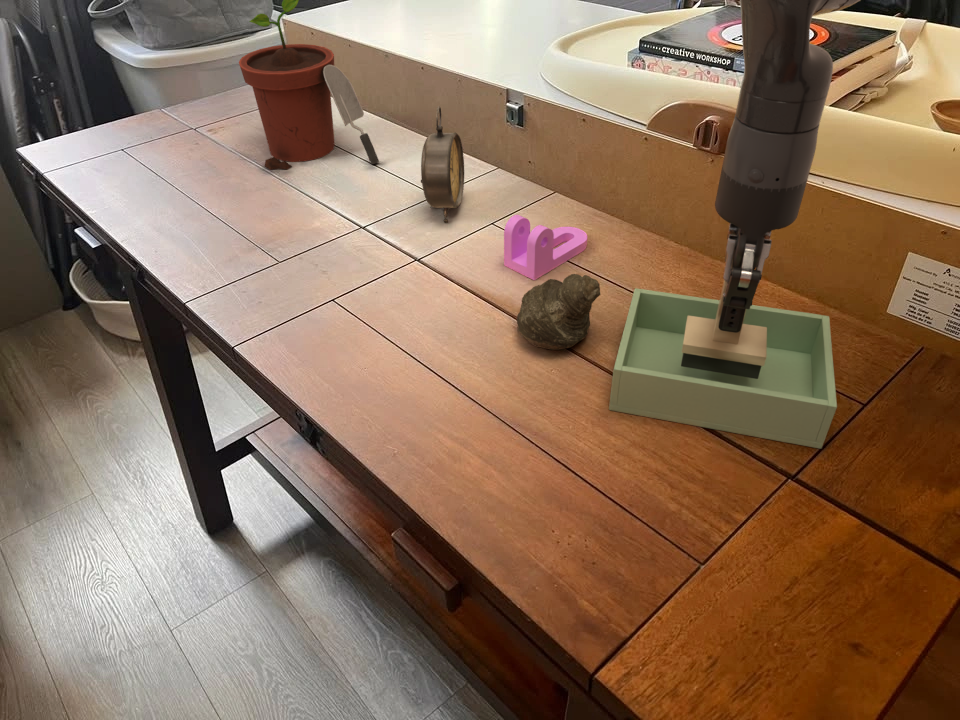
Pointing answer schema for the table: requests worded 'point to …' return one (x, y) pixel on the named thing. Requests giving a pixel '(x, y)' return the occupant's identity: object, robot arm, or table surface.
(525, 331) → the seashell
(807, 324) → the bin
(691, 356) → the base with upright post
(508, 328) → the table surface
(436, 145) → the alarm clock
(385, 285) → the table surface
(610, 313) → the table surface
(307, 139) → the potted plant
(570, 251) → the bracket
